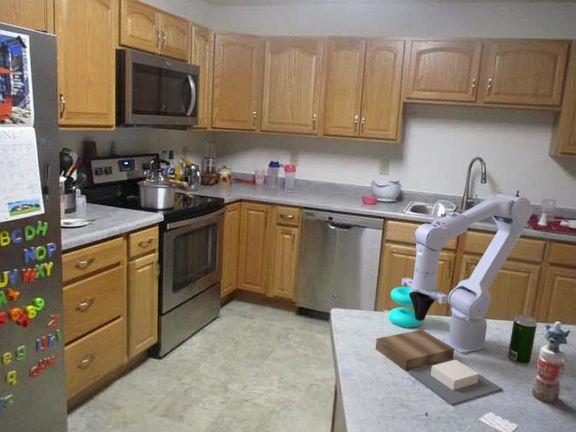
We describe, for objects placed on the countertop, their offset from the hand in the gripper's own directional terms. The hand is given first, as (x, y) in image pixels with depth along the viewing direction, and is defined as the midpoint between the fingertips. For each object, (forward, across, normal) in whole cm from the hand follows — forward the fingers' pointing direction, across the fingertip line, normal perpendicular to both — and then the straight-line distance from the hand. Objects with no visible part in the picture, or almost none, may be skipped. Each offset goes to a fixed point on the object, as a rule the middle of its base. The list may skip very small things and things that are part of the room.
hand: (419, 319), depth 122 cm
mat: (+9, +15, -2) cm, 18 cm away
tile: (+9, +15, -2) cm, 17 cm away
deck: (+9, +1, -2) cm, 9 cm away
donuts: (+9, -16, +10) cm, 21 cm away
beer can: (+9, +15, +22) cm, 28 cm away
